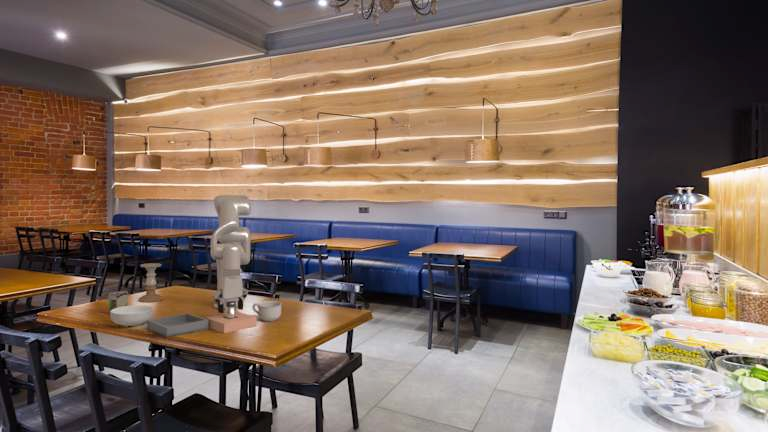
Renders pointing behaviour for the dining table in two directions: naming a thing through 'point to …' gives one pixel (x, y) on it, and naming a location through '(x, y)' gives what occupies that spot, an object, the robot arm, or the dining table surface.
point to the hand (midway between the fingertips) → (230, 311)
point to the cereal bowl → (131, 315)
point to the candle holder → (150, 284)
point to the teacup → (268, 310)
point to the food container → (118, 299)
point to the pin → (230, 309)
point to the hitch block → (231, 322)
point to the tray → (177, 325)
